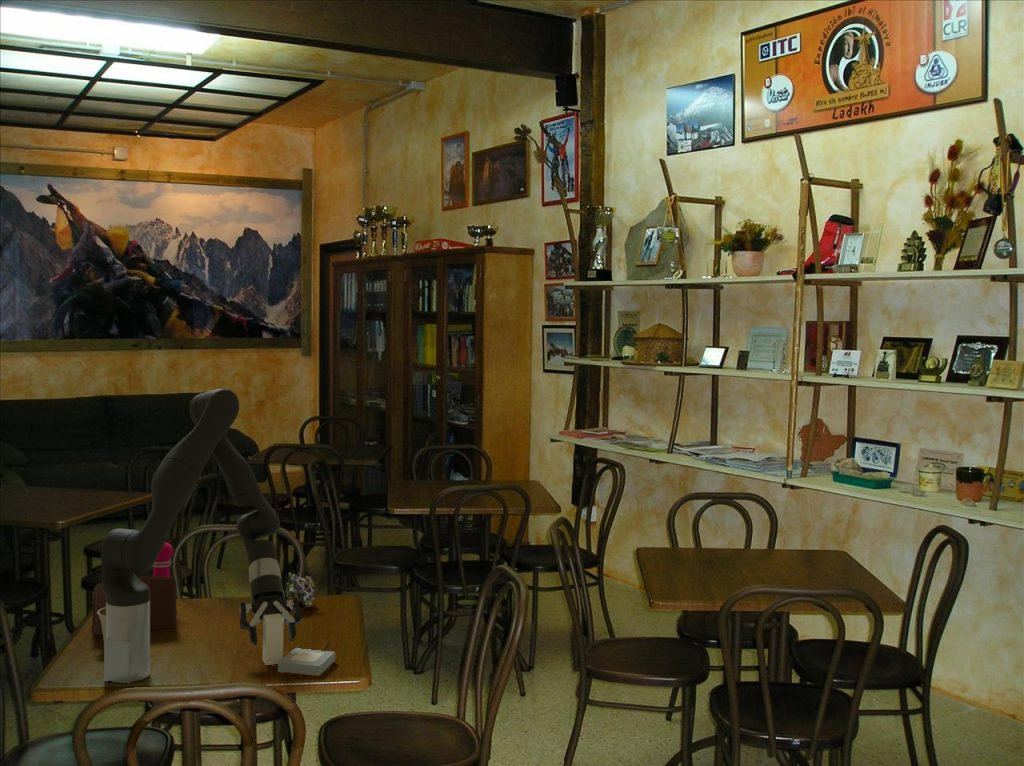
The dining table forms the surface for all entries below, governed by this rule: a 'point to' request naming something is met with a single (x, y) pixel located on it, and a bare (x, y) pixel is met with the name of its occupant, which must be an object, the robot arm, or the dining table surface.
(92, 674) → the dining table surface
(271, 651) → the pillar
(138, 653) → the robot arm
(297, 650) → the slab
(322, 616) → the dining table surface
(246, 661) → the dining table surface
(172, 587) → the letter holder
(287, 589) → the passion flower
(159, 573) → the pepper mill
